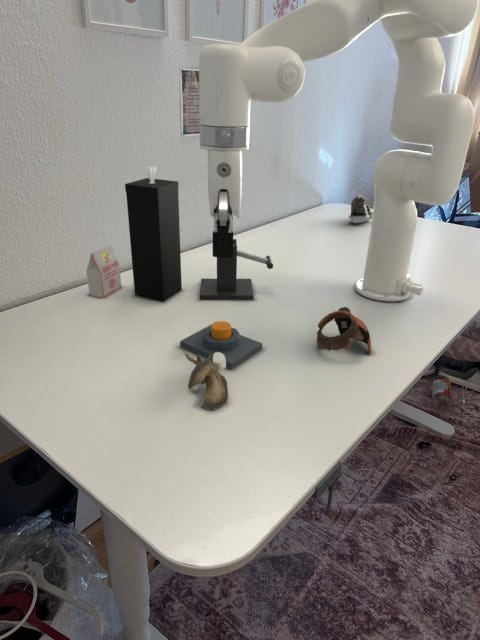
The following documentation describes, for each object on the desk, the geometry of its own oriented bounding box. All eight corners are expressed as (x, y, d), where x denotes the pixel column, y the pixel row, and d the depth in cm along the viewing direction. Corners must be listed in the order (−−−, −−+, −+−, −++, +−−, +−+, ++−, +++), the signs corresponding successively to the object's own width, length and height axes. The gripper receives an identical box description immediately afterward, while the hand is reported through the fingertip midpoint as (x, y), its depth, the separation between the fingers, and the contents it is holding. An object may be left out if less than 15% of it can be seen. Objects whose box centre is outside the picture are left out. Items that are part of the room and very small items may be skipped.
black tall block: (182, 290, 111) (178, 165, 98) (163, 302, 105) (156, 170, 92) (153, 284, 114) (146, 161, 101) (134, 296, 107) (123, 167, 95)
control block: (262, 349, 87) (262, 334, 86) (231, 369, 81) (231, 354, 80) (212, 329, 94) (212, 315, 93) (180, 347, 87) (179, 332, 86)
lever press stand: (250, 283, 116) (252, 235, 110) (253, 300, 107) (255, 249, 102) (201, 283, 115) (200, 235, 110) (199, 300, 106) (198, 249, 101)
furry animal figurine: (172, 374, 77) (176, 397, 69) (194, 337, 76) (201, 356, 68) (212, 393, 80) (220, 418, 71) (234, 357, 79) (245, 379, 70)
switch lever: (269, 264, 111) (272, 254, 110) (271, 271, 107) (274, 261, 106) (219, 249, 109) (222, 239, 108) (219, 256, 105) (222, 246, 104)
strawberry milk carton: (89, 295, 107) (84, 252, 103) (108, 284, 113) (104, 244, 109) (103, 298, 106) (98, 255, 102) (121, 287, 112) (117, 246, 107)
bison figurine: (356, 217, 174) (360, 189, 170) (375, 220, 171) (379, 191, 166) (345, 224, 165) (348, 195, 161) (364, 228, 162) (369, 198, 157)
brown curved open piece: (378, 365, 84) (364, 333, 79) (327, 378, 87) (311, 349, 83) (370, 320, 93) (356, 289, 88) (323, 334, 96) (308, 305, 92)
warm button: (235, 335, 87) (235, 325, 86) (222, 342, 84) (222, 332, 83) (219, 329, 88) (219, 319, 88) (207, 336, 86) (206, 326, 85)
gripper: (251, 145, 65) (247, 265, 72) (247, 133, 80) (243, 233, 88) (196, 144, 64) (197, 264, 72) (202, 132, 80) (202, 232, 88)
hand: (222, 247), depth 80 cm, fingers open, 9 cm apart
